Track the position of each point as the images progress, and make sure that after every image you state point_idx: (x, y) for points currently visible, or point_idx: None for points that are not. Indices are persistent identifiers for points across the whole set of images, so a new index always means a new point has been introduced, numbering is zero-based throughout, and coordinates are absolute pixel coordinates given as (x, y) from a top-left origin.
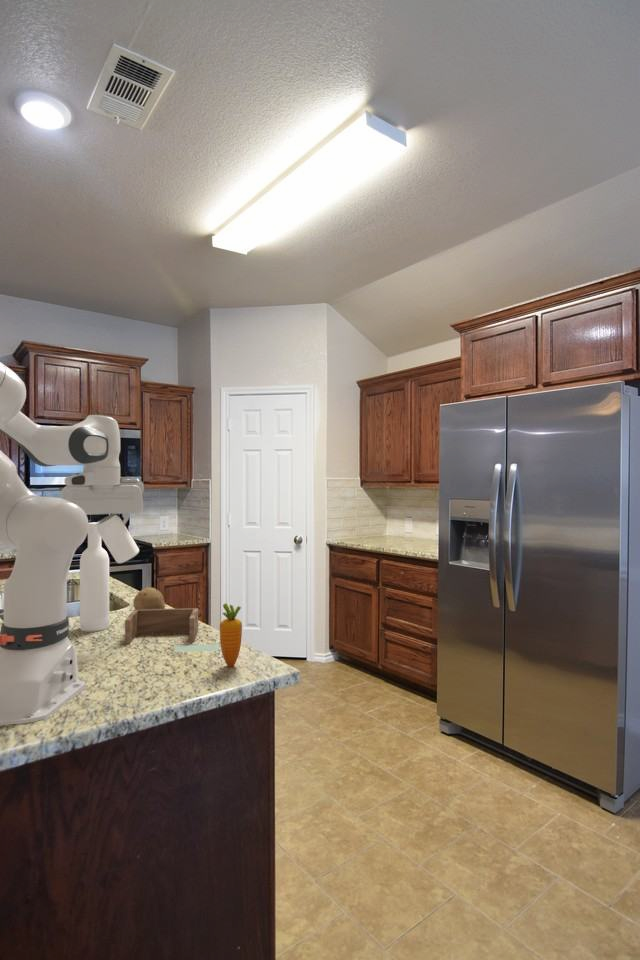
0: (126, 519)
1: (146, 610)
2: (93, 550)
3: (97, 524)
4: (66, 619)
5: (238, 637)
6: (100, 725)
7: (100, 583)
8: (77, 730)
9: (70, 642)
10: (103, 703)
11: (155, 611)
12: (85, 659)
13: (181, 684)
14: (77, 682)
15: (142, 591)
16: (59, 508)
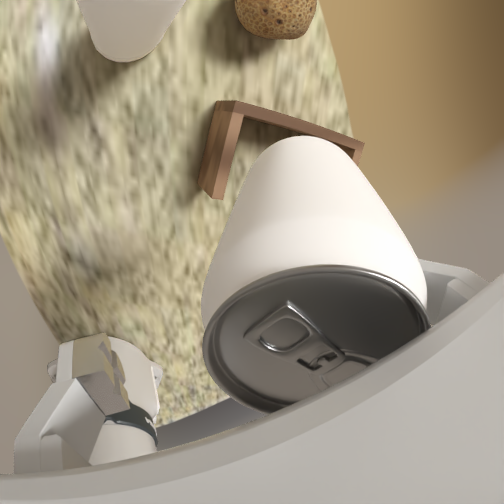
0: (432, 320)
1: (265, 120)
2: None
3: (226, 391)
4: (156, 443)
5: None
6: (191, 413)
7: (152, 31)
8: (173, 418)
9: (153, 411)
10: (186, 384)
11: (283, 125)
12: (130, 251)
13: None
14: (153, 372)
15: (275, 5)
16: None
